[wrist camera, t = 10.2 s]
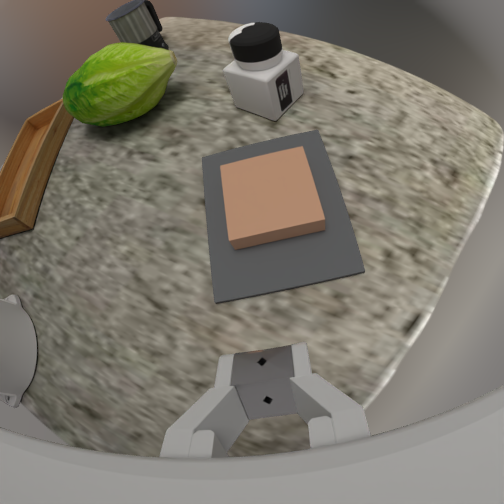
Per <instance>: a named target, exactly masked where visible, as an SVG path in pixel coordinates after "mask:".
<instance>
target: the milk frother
mask: <svg viewBox="0 0 504 504" xmlns="http://www.w3.org/2000/svg"><path fill="white" fill-rule="evenodd" d="M106 21H108V22H109V23H110V25H111V26H112V28H113V30H114V32H115V33H116V35H117V36H118V38H119V40H120V41H121V42H124V43H135V44H140V45H145V46H150V47H155V48H163V49H166V50H168V45H167V44H166V43H165V42H164V40H163V38H162V36H161V34H160V33H159V32H161V31H162V26H161V23H160V21H159V19H158V16H157V14H156V12H155V9H154V7H153V5H152V3H151V2H150V1H148V0H133V1H131V2H128V3H126V4H124V5H122V6H121V7H119V8H118V9H116V10H115V11H113V12H112V13H111V14H110V15H108V16H107V18H106Z"/></svg>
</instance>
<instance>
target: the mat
mask: <svg viewBox="0 0 504 504" xmlns="http://www.w3.org/2000/svg"><path fill="white" fill-rule="evenodd" d="M301 146H303V149H304V152H305V155H306V158H307V161H308V164H309V167H310V170H311V173H312V177H313V180H314V183H315V186H316V190H317V193H318V196H319V200H320V203H321V206H322V210H323V213H324V217H325V230H323V231H319V232H314V233H309V234H305V235H300V236H296V237H291V238H287V239H282V240H278V241H273V242H269V243H264V244H260V245H255V246H251V247H246V248H242V249H237V250H235V249H234V248H233V246H232V245H231V243H230V242H229V238H228V230H227V221H226V213H225V205H224V196H223V187H222V178H221V170H220V166H221V165H225V164H229V163H233V162H237V161H241V160H244V159H248V158H253V157H257V156H261V155H265V154H269V153H274V152H278V151H282V150H287V149H291V148H296V147H301ZM202 167H203V181H204V195H205V208H206V220H207V232H208V243H209V253H210V264H211V274H212V283H213V293H214V302H215V303H222V302H227V301H232V300H238V299H243V298H248V297H253V296H258V295H263V294H268V293H273V292H278V291H283V290H288V289H293V288H297V287H302V286H307V285H311V284H316V283H320V282H325V281H329V280H334V279H338V278H343V277H347V276H351V275H356V274H360V273H364V272H365V269H364V265H363V262H362V258H361V255H360V251H359V248H358V244H357V241H356V238H355V234H354V231H353V228H352V225H351V221H350V218H349V215H348V212H347V209H346V206H345V203H344V200H343V197H342V194H341V191H340V188H339V185H338V182H337V179H336V177H335V174H334V171H333V168H332V166H331V163H330V160H329V157H328V155H327V152H326V149H325V147H324V144H323V142H322V139H321V137H320V134H319V131H318V130H314V131H309V132H304V133H299V134H294V135H290V136H285V137H280V138H276V139H272V140H267V141H263V142H259V143H255V144H251V145H247V146H243V147H239V148H235V149H231V150H227V151H224V152H220V153H216V154H213V155H209V156H206V157H202Z"/></svg>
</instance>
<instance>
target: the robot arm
mask: <svg viewBox="0 0 504 504" xmlns="http://www.w3.org/2000/svg"><path fill="white" fill-rule="evenodd" d="M36 359H37V342H36V334H35V330H34V326H33V323H32V321H31V319H30V317H29V315H28V314H27V313H26V312H25V310H24V309H23V308H22V306H21V302H20V299H19V297H18V296H17V295H14V294H11V295H10V296H8V297H7V298H5V299H0V400H1V401H3V402H4V403H6V404H8V405H9V406H12V407H18V406H19V404H20V401H21V397H22V394H23V393H24V391H25V390H26V389H27V387H28V386H29V384H30V382H31V380H32V378H33V375H34V371H35V366H36ZM295 413H298V415H299V416H300V417H301V418H302V419H303V420H304V421H305V422H306V423H307V424H308V427H309V438H310V448H311V449H306V450H299V451H292V452H285V453H277V454H267V455H257V456H244V457H229V456H228V455H227V452H228V450H229V449H230V447H231V446H232V445H233V443H234V442H235V440H236V439H237V438H238V436H239V435H240V433H241V432H242V430H243V429H244V428H245V426H246V425H247V423H248V422H249V420H250V419H258V418H265V417H271V416H280V415H288V414H295ZM0 504H504V385H503V386H501V387H499V388H497V389H496V390H493V391H491V392H489V393H487V394H485V395H483V396H481V397H479V398H476V399H474V400H472V401H470V402H468V403H465V404H463V405H461V406H458V407H456V408H453V409H451V410H449V411H446V412H443V413H441V414H438V415H436V416H433V417H430V418H427V419H424V420H422V421H419V422H416V423H413V424H410V425H407V426H403V427H401V428H397V429H394V430H390V431H387V432H383V433H380V434H376V435H372V436H371V434H370V431H369V427H368V423H367V420H366V416H365V413H364V409H363V407H362V406H361V405H360V404H358V403H357V402H355V401H354V400H353V399H351V398H350V397H348V396H347V395H346V394H344V393H343V392H341V391H340V390H339V389H337V388H336V387H335V386H333V385H332V384H330V383H329V382H328V381H326V380H325V379H324V378H322V377H321V376H320V375H318V374H317V373H314V374H312V371H311V365H310V360H309V354H308V348H307V343H306V342H301V343H296V344H292V345H288V346H282V347H277V348H271V349H265V350H258V351H250V352H243V353H235V354H228V355H221V356H220V358H219V362H218V368H217V373H216V379H215V385H214V388H210V389H209V390H208V391H207V392H206V393H205V394H204V395H203V396H202V397H201V398H200V399H199V400H198V401H197V402H196V403H194V404H193V405H192V406H191V407H190V408H189V409H188V410H187V411H186V412H185V413H184V414H183V415H182V416H181V417H180V418H179V419H178V420H177V421H176V422H175V423H173V424H172V425H171V426H170V427H169V428H168V429H167V431H166V434H165V438H164V442H163V445H162V449H161V453H160V456H159V457H149V456H137V455H126V454H117V453H109V452H102V451H96V450H89V449H83V448H78V447H73V446H68V445H63V444H58V443H53V442H49V441H45V440H41V439H37V438H33V437H30V436H26V435H22V434H19V433H16V432H12V431H9V430H6V429H4V428H1V427H0Z"/></svg>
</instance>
